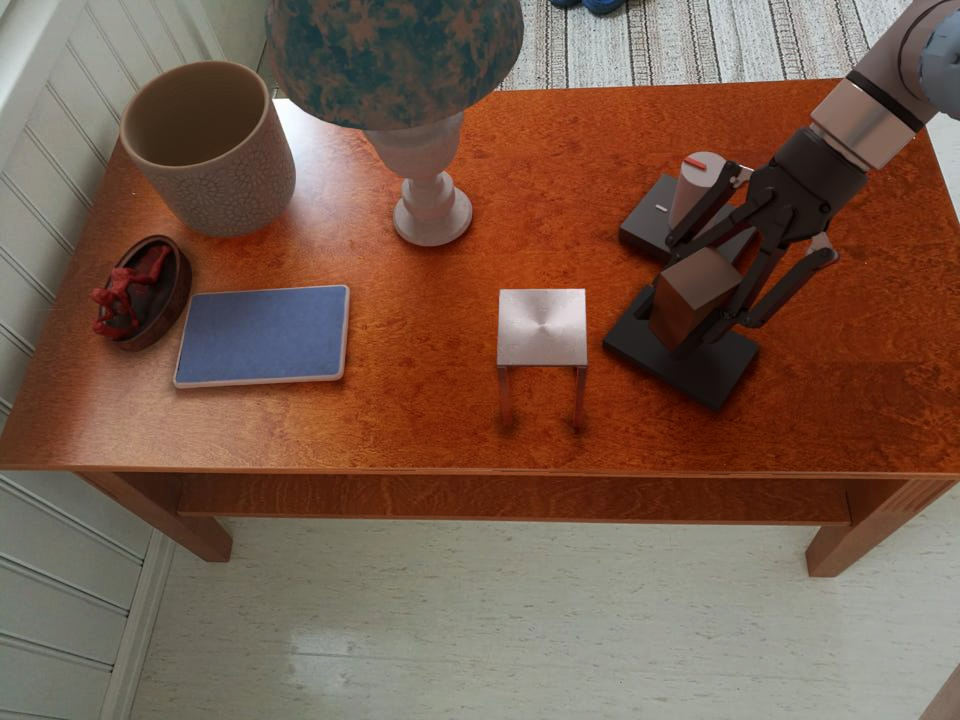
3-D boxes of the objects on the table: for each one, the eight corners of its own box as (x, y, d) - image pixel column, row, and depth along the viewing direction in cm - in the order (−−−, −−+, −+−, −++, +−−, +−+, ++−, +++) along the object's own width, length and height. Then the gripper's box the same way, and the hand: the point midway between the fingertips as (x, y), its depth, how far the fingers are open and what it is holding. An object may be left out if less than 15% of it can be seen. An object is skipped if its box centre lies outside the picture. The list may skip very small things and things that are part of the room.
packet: (646, 327, 78) (659, 273, 69) (692, 300, 79) (710, 243, 70) (677, 362, 76) (694, 310, 67) (723, 333, 77) (746, 279, 68)
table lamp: (365, 138, 99) (268, -202, 64) (542, 153, 95) (541, -199, 60) (315, 285, 88) (164, -28, 53) (511, 308, 84) (489, -11, 49)
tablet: (174, 391, 83) (169, 386, 82) (193, 297, 89) (189, 291, 88) (344, 383, 82) (341, 377, 80) (352, 288, 88) (349, 282, 86)
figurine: (192, 348, 85) (111, 312, 77) (135, 370, 89) (52, 339, 81) (203, 240, 92) (129, 196, 83) (149, 265, 96) (73, 226, 87)
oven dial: (720, 218, 86) (739, 161, 78) (699, 247, 84) (716, 192, 76) (681, 200, 87) (696, 142, 79) (660, 228, 86) (672, 172, 78)
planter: (297, 254, 90) (254, 167, 77) (165, 257, 92) (100, 171, 78) (316, 152, 98) (280, 55, 85) (194, 155, 100) (140, 62, 86)
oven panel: (758, 230, 87) (763, 218, 85) (715, 289, 84) (720, 278, 82) (661, 183, 91) (664, 171, 90) (617, 237, 88) (619, 226, 86)
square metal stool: (579, 360, 81) (585, 288, 68) (580, 427, 77) (587, 364, 65) (506, 359, 81) (499, 289, 69) (504, 426, 78) (496, 364, 65)
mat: (757, 350, 80) (760, 345, 78) (716, 412, 76) (718, 408, 75) (645, 289, 84) (646, 283, 83) (601, 345, 81) (602, 340, 80)
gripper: (930, 222, 62) (733, 402, 73) (780, 98, 70) (623, 278, 81) (911, 210, 56) (701, 407, 68) (750, 77, 64) (586, 274, 76)
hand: (659, 337), depth 75 cm, fingers closed on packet, 5 cm apart
